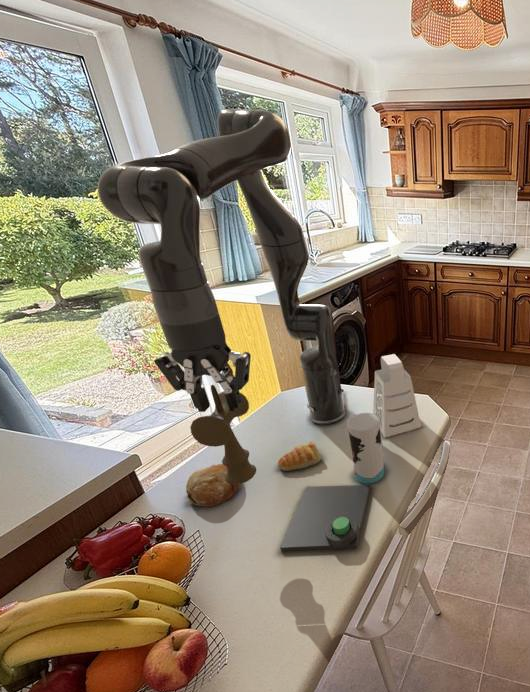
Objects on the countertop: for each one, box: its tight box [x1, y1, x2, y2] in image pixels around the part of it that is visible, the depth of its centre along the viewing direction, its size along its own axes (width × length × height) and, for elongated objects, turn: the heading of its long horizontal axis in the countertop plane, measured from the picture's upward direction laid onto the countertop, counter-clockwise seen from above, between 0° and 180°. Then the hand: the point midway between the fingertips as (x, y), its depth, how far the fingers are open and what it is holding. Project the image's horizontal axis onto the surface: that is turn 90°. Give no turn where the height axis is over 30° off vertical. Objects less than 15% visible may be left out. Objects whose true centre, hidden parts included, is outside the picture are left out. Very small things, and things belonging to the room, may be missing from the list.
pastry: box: [277, 441, 322, 472], centre depth 98 cm, size 9×7×4 cm
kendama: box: [189, 384, 257, 485], centre depth 71 cm, size 6×10×20 cm, turn 7°
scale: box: [279, 484, 372, 553], centre depth 83 cm, size 16×14×3 cm
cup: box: [346, 412, 385, 485], centre depth 93 cm, size 7×7×15 cm
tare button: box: [333, 517, 350, 536], centre depth 78 cm, size 3×3×2 cm
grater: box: [372, 353, 422, 438], centre depth 111 cm, size 10×10×20 cm
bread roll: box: [185, 463, 240, 508], centre depth 89 cm, size 10×10×8 cm
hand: (219, 408), depth 69 cm, fingers closed on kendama, 4 cm apart
